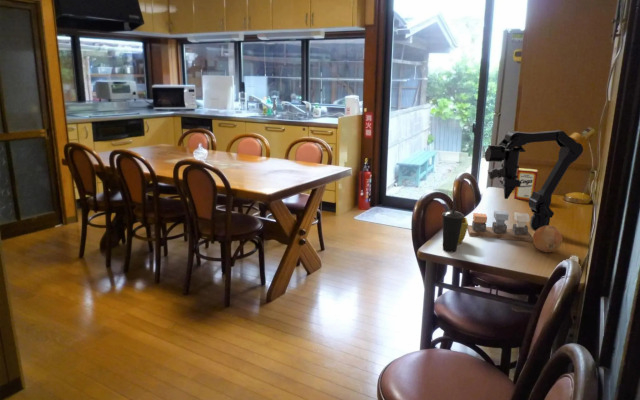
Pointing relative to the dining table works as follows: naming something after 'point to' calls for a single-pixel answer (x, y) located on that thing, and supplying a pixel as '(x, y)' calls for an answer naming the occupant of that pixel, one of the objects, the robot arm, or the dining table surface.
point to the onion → (547, 238)
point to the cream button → (521, 219)
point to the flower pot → (463, 230)
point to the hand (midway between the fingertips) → (505, 198)
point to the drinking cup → (451, 228)
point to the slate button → (500, 217)
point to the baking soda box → (526, 183)
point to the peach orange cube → (479, 218)
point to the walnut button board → (499, 232)
